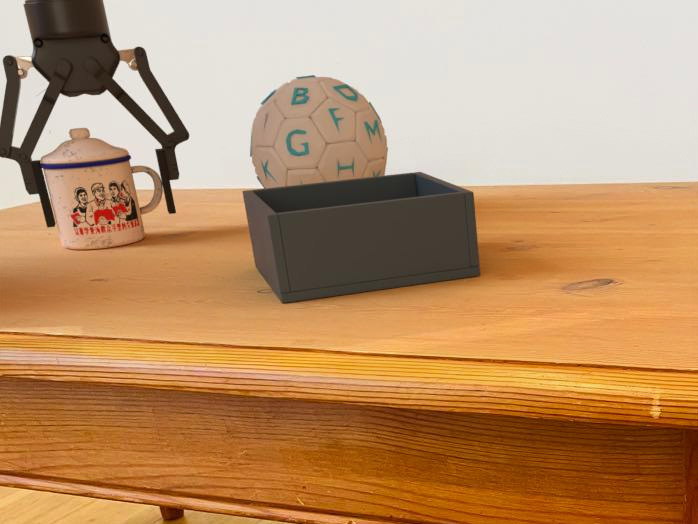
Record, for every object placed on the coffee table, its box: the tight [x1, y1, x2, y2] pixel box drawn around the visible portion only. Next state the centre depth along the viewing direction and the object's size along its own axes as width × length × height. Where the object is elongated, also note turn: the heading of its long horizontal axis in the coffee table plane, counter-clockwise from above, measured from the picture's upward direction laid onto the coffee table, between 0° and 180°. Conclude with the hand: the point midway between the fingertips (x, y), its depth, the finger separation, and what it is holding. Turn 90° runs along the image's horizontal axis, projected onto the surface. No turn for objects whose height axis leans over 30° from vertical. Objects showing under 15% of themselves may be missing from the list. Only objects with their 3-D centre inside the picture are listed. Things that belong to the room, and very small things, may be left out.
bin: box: [242, 171, 481, 304], centre depth 93 cm, size 17×17×7 cm
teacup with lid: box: [39, 127, 164, 251], centre depth 115 cm, size 12×9×12 cm
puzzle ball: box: [249, 74, 389, 189], centre depth 120 cm, size 15×15×15 cm
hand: (112, 218), depth 117 cm, fingers closed on teacup with lid, 12 cm apart
